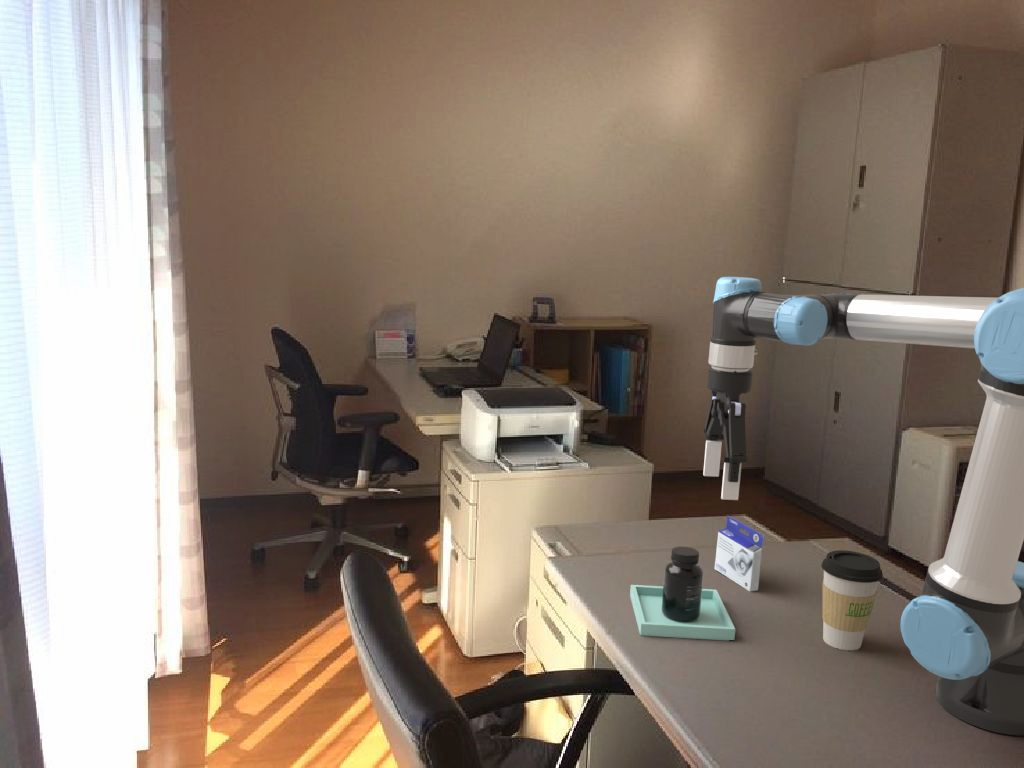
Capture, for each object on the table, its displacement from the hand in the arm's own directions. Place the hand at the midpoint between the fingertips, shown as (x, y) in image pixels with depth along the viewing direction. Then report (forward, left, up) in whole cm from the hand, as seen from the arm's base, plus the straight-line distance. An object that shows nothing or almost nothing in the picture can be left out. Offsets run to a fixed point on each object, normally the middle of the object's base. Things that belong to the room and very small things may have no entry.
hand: (719, 487), depth 160 cm
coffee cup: (-8, -22, -24) cm, 34 cm away
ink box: (+16, -9, -24) cm, 30 cm away
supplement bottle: (-2, +5, -24) cm, 24 cm away
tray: (-2, +5, -24) cm, 25 cm away
